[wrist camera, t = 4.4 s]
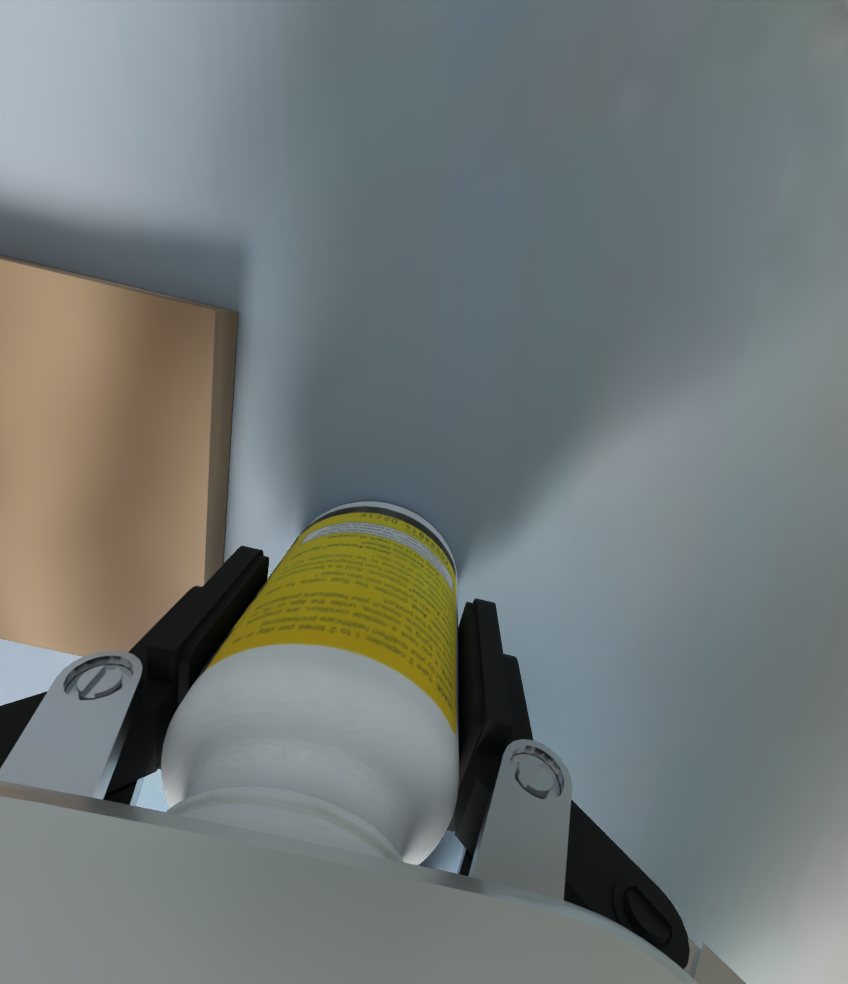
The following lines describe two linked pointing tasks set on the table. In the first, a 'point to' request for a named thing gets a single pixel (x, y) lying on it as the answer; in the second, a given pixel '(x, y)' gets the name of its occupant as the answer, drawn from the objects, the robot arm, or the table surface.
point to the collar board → (107, 455)
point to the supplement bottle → (333, 695)
